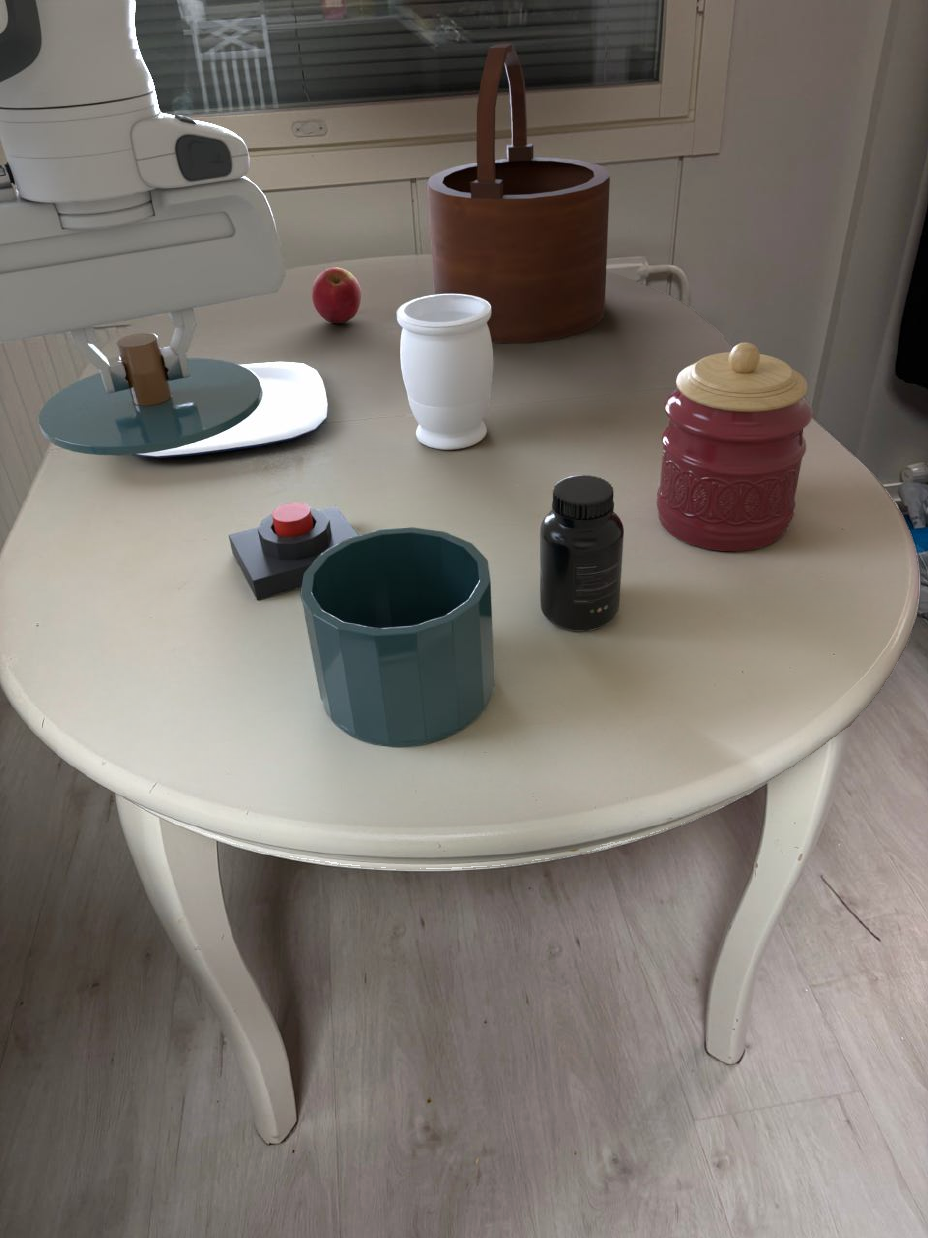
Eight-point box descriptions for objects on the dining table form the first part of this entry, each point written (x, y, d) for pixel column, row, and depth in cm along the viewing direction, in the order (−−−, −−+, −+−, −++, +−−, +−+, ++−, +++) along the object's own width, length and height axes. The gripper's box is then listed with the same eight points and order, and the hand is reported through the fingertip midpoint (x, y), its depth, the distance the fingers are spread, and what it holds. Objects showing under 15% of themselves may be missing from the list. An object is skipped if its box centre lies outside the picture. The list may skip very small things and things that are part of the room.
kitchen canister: (631, 504, 94) (642, 333, 84) (738, 476, 98) (762, 309, 87) (703, 568, 84) (726, 384, 74) (820, 534, 88) (858, 354, 77)
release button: (281, 541, 85) (278, 525, 84) (270, 524, 87) (267, 508, 86) (318, 531, 86) (315, 515, 85) (306, 514, 89) (303, 498, 88)
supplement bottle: (526, 600, 82) (525, 479, 75) (594, 579, 84) (599, 460, 77) (563, 643, 77) (565, 518, 70) (634, 620, 79) (643, 496, 71)
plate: (114, 475, 105) (110, 462, 104) (131, 389, 125) (128, 377, 124) (336, 445, 108) (334, 431, 107) (318, 366, 128) (317, 354, 127)
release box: (257, 600, 84) (248, 564, 81) (232, 553, 90) (224, 518, 88) (370, 567, 87) (365, 530, 85) (338, 524, 94) (333, 489, 92)
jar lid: (55, 485, 55) (27, 403, 52) (34, 399, 66) (9, 327, 63) (290, 430, 60) (277, 352, 57) (235, 359, 71) (221, 290, 68)
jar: (496, 454, 105) (492, 322, 96) (404, 457, 105) (392, 326, 96) (494, 414, 113) (491, 289, 104) (410, 417, 113) (399, 293, 104)
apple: (306, 329, 141) (298, 275, 136) (328, 311, 147) (320, 259, 142) (352, 332, 139) (346, 277, 134) (372, 313, 145) (366, 261, 140)
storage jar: (357, 771, 66) (338, 657, 60) (300, 664, 76) (278, 557, 70) (524, 709, 71) (523, 597, 64) (449, 615, 81) (442, 511, 74)
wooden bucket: (613, 287, 149) (624, 30, 128) (594, 346, 129) (604, 53, 108) (458, 283, 154) (444, 37, 133) (416, 340, 135) (393, 60, 114)
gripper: (-112, 189, 48) (-16, 435, 56) (272, 140, 54) (307, 367, 63) (-108, 168, 52) (-21, 399, 61) (245, 125, 59) (280, 339, 67)
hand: (148, 382), depth 62 cm, fingers closed on jar lid, 2 cm apart
